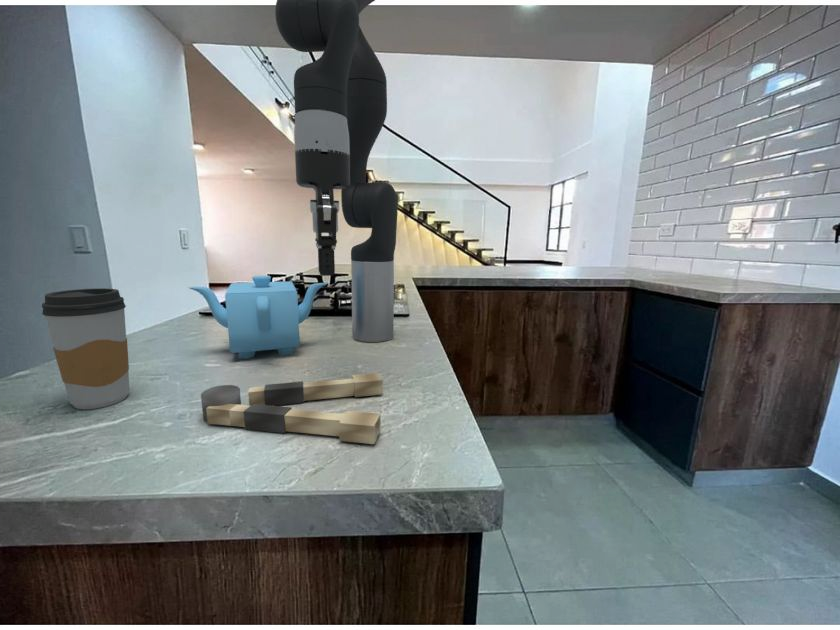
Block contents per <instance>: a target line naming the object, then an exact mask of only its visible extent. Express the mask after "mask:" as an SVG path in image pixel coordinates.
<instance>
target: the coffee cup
mask: <svg viewBox="0 0 840 630" xmlns="http://www.w3.org/2000/svg"><path fill="white" fill-rule="evenodd" d="M41 308H42V314H41V315H42V316H45V317H44V318H45V321H46V325H47V328H48V331H49V335H50V338H51V342H52V345H53V348H52V350H53V353H54V356H55V360H56V363H57V366H58V370H59V373H60V377H61V379H62V382H63V385H64V387H65V390H66V395H67V398H68V402H69V404H71V405H72V406H73V408H75V409H78V410H94V409H101V408H106V407H109V406H112V405H116V404H117V403H120V402H122V401H124V400H125V399H126V398H127V397H128V395H129V393H130V390H131V388H130V375H129V374H130V373H129V370H130V369H129V368H130V365H129V351H128V349H129V347H128V346H129V345H128V338H127V329H126V314H125V308H127V305H126V304H125V299H124V297H123V296H121V293H120V291H119V289H116V288H81V289H80V288H79V289H78V288H77V289H69V290H60V291H59V290H58V291H52V292H49V293H46V294H44V302H43V303H41Z"/></svg>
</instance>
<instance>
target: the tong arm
mask: <svg viewBox="0 0 840 630" xmlns="http://www.w3.org/2000/svg"><path fill="white" fill-rule="evenodd" d="M351 377H352V378H344V379H335V380H334V379H332V380H331V379H330V380H321V381H320V380H319V381H310V382H304V381H294V382H293V381H291V382H283V383H282V382H281V383H280V382H279V383H269V384H268V383H267V384H265V385H264V386H254V387H249V389H248V392H247V393H248V397H247V398H248V405H249V406H251V405H253V404H259V405H270V406H280V405H282V406H284V405H290V404H301V403H304V402H305V401H315V400H323V399H324V400H325V399H326V400H327V399H336V398H344V397H353V396H354V398H358V397H368V396H380V395H384V393H383V384H384V383H383V382H384V381H383V378H382V376H381V375H380V373H379V372H373V373H361V374H360V373H359V374H352V376H351Z"/></svg>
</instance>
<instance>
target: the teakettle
mask: <svg viewBox="0 0 840 630" xmlns="http://www.w3.org/2000/svg"><path fill="white" fill-rule="evenodd" d="M271 278H272V276H270V275H266V274H265V275H263V274H262V275H254V276H252V278H251V279H252V280H253V281H252V282H231V284H229V286H228V289H227V290H226V292H225V294H224V299H225V307H224V306H223V305H222V304H221V302H220V301H219V299H218V297H217V295H216V294H215V292H214V291H213V290H212V289H210V288H209V287H207V286H188V287H187V288H188V289H190V290H193V291H195V292H197V293H199V294H200V295H201V296H203V299H205V300H206V303H207V304H208V307H209V309H210V311H211V314H212V316H213V318H214V319H215V321H216V322H217V323H218V324H219V325H221V326H222V327H224V328H226V329H227V331H228V342H229V354H237V353H238V356H237V358H238V359H242V360H243V359H251V358H254V357H255V356H256V352H261V351H272V350H277V352H278V355H281V356H285V355H292V354H294V353H295V351H294V349H296V348H301V344H300V343H301V342H300V326H299V325H300V324H302V323H304V322H305V320H306V319H308V316H309V315H310V313H311V310H312V307H313V303H314V298H315V296H316V294H317V292H318V291H319V290H320V289H321V288H322V287H324V286H326V285H328V284H329V283H328V282H319V283H318V282H317V283H312V284H311V285H309V287H308V288H307V290H306V292H305V295H304V298H303V300H302V302H301V303H300V304H298V302H299V301H298V291H297V289H296V287H295V284H294V283H293V281H271Z"/></svg>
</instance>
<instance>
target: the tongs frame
mask: <svg viewBox="0 0 840 630" xmlns="http://www.w3.org/2000/svg"><path fill="white" fill-rule="evenodd" d="M200 400H201V401H200V402H201V409H202V417H203V421H204V422H205V423H207V424H209V425H219V426H231V427H238V428H239V427H241V428H242V427H243V428H244V430H251V431H259V432H270V433H282V434H285V433H286V432H292V433H301V434H310V435H311V434H312V435H322V436H334V437H339V442H348V443H359V444H370V445H374V444H375V443H376V441H377V438H378V436H379V435H380V433H381V413H377V412H376V413H375V412H367V411H366V412H364V411H353V410H347V411H346V413H336V412H335V413H333V412H325V411H324V412H323V411H315V410H303V409H292V407H289V406H280V405H273V406H270V405H259V404H253V405H251V406H249V404H242V403H241V402H242V400H241V389H240V387H239V386H237V385H232V384H224V385H217V386H212V387H209V388H207V389H205V390H204V391H202V392H201V393H200Z"/></svg>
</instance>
